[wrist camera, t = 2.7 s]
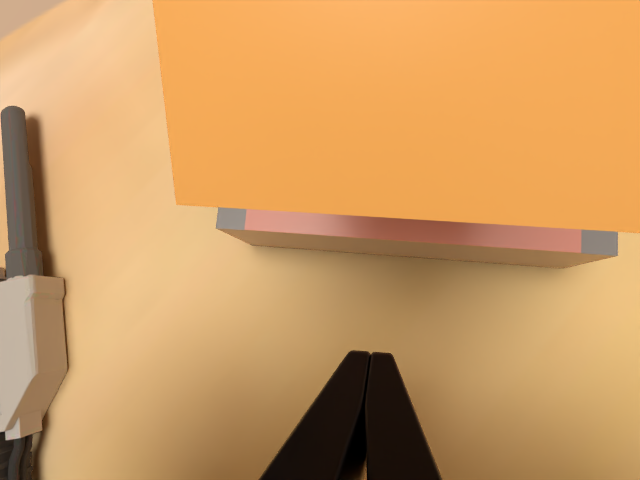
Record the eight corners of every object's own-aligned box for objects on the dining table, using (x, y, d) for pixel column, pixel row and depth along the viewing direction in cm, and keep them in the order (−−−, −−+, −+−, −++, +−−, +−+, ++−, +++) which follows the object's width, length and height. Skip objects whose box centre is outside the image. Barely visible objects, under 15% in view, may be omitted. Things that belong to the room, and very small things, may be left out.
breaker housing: (563, 268, 17) (655, 247, 11) (251, 245, 19) (192, 217, 13) (567, 20, 18) (650, -113, 12) (277, 22, 20) (233, -93, 14)
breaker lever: (501, 114, 14) (729, 238, 4) (326, 110, 15) (176, 204, 5) (515, 23, 13) (851, -92, 3) (327, 24, 14) (145, -65, 4)
